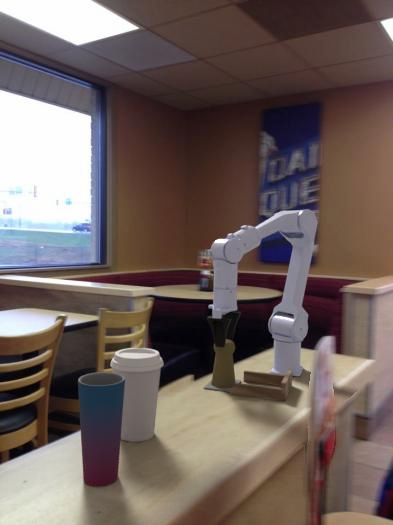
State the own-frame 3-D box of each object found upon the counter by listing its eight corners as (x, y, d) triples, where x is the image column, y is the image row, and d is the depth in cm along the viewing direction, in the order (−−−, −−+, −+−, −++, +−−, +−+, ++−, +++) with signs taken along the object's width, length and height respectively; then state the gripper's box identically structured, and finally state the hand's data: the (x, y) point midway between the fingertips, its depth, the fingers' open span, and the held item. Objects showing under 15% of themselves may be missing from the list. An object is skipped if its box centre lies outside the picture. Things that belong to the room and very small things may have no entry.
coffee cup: (171, 429, 88) (173, 350, 87) (145, 450, 79) (146, 362, 79) (128, 420, 92) (129, 344, 91) (98, 439, 83) (99, 355, 83)
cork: (236, 381, 118) (237, 337, 117) (234, 389, 112) (235, 343, 111) (212, 379, 119) (213, 336, 118) (209, 387, 113) (210, 341, 112)
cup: (81, 467, 73) (81, 372, 72) (125, 466, 74) (126, 371, 73) (73, 490, 66) (74, 385, 66) (122, 489, 67) (123, 385, 66)
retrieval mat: (214, 378, 121) (214, 377, 121) (241, 381, 119) (241, 380, 119) (203, 388, 113) (203, 387, 113) (232, 392, 110) (232, 391, 110)
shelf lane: (244, 380, 120) (244, 364, 120) (292, 385, 116) (292, 369, 116) (232, 394, 109) (233, 377, 109) (285, 401, 105) (285, 383, 105)
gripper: (217, 284, 123) (216, 336, 123) (200, 290, 109) (199, 348, 110) (244, 286, 120) (242, 338, 121) (229, 291, 107) (228, 351, 107)
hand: (224, 343), depth 115 cm, fingers open, 7 cm apart
